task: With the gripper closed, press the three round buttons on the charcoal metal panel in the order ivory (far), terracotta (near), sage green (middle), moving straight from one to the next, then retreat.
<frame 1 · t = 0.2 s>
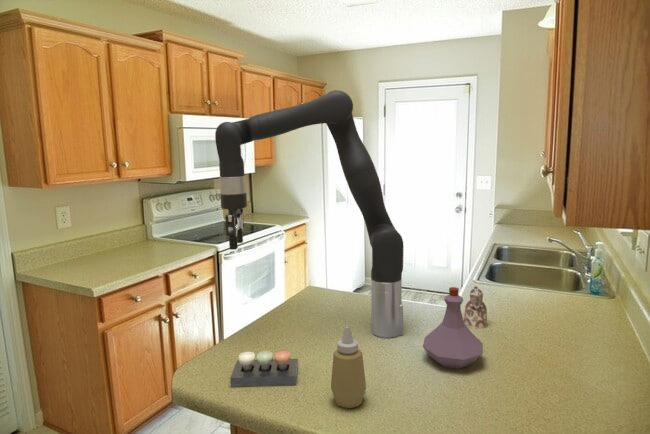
hand: (236, 245, 133), 29 cm above the countertop, fingers open, 8 cm apart
ivory button: (247, 362, 113), point 4 cm above the countertop, slide at 0.0 cm
squeeze bottle: (348, 402, 102), on the countertop
flask: (452, 360, 120), on the countertop
sage button: (264, 362, 113), point 4 cm above the countertop, slide at 0.0 cm
terracotta button: (282, 361, 113), point 4 cm above the countertop, slide at 0.0 cm
figurine: (475, 324, 143), on the countertop
panel: (265, 376, 114), on the countertop
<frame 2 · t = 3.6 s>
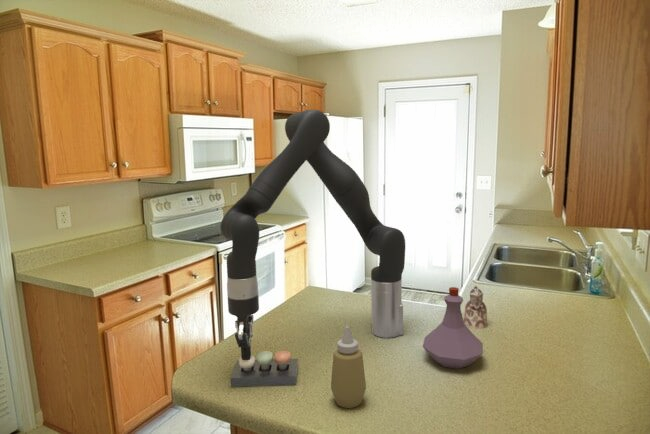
hand: (246, 358, 113), 5 cm above the countertop, fingers closed
ivory button: (247, 365, 113), point 3 cm above the countertop, slide at 0.9 cm, touching gripper
everything else where it was.
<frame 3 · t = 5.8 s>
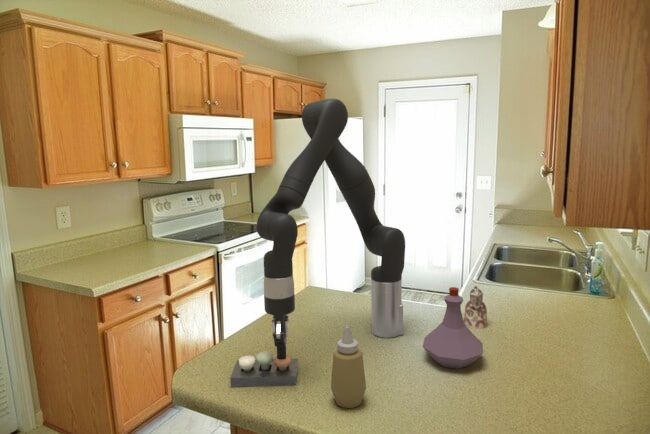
hand: (281, 357, 113), 5 cm above the countertop, fingers closed
ivory button: (247, 366, 113), point 3 cm above the countertop, slide at 1.1 cm
terracotta button: (282, 365, 113), point 3 cm above the countertop, slide at 1.0 cm, touching gripper
everything else where it was.
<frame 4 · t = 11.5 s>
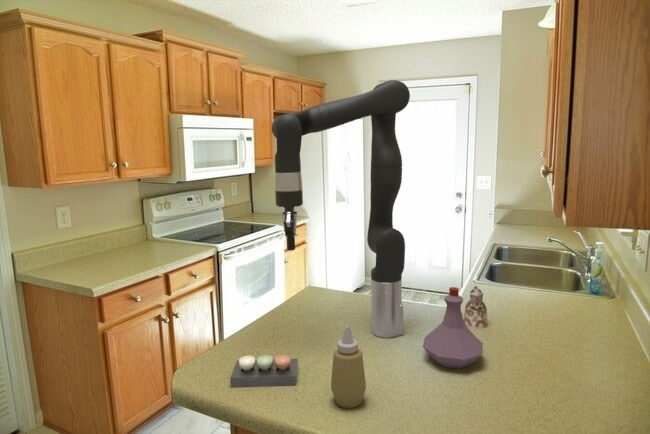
hand: (291, 249, 126), 29 cm above the countertop, fingers closed
sage button: (265, 366, 113), point 3 cm above the countertop, slide at 1.1 cm
terracotta button: (282, 365, 113), point 3 cm above the countertop, slide at 1.1 cm
everything else where it was.
at the end: ivory button slide at 1.1 cm; terracotta button slide at 1.1 cm; sage button slide at 1.1 cm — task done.
